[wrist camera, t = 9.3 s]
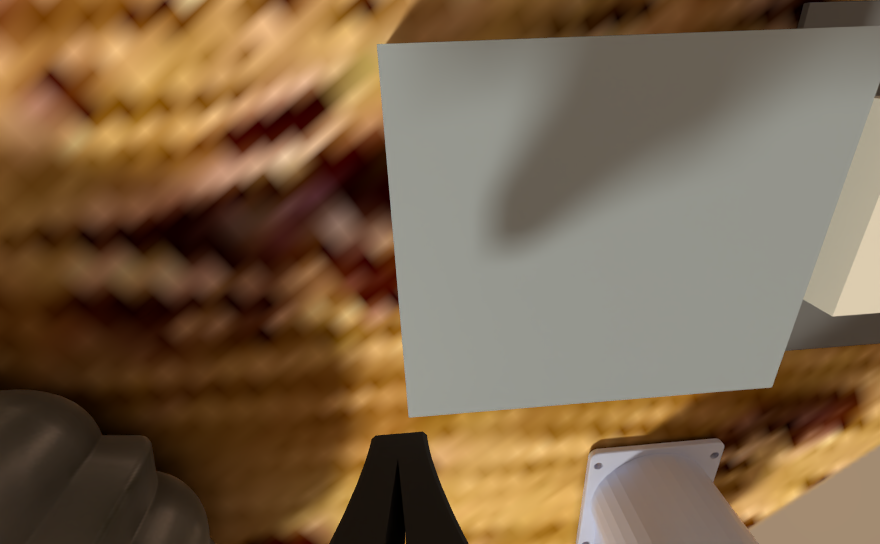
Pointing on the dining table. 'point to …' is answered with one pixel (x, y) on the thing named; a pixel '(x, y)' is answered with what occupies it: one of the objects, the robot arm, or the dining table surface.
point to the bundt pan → (85, 481)
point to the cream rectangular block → (853, 235)
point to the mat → (811, 321)
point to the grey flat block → (612, 207)
